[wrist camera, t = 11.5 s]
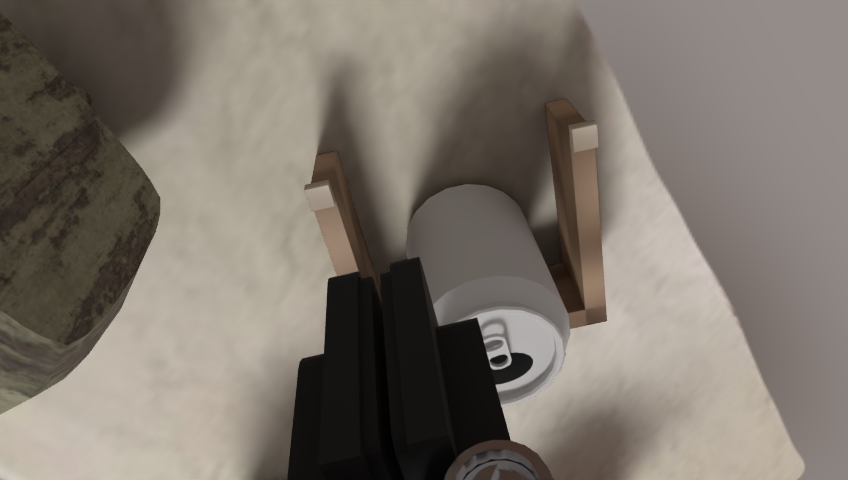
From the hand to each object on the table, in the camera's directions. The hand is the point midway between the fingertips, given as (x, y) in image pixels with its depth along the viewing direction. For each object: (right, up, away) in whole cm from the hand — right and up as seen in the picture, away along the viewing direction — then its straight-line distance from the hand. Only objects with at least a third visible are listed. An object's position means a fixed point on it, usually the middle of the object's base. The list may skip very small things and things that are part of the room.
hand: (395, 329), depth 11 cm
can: (+3, +2, +27) cm, 28 cm away
